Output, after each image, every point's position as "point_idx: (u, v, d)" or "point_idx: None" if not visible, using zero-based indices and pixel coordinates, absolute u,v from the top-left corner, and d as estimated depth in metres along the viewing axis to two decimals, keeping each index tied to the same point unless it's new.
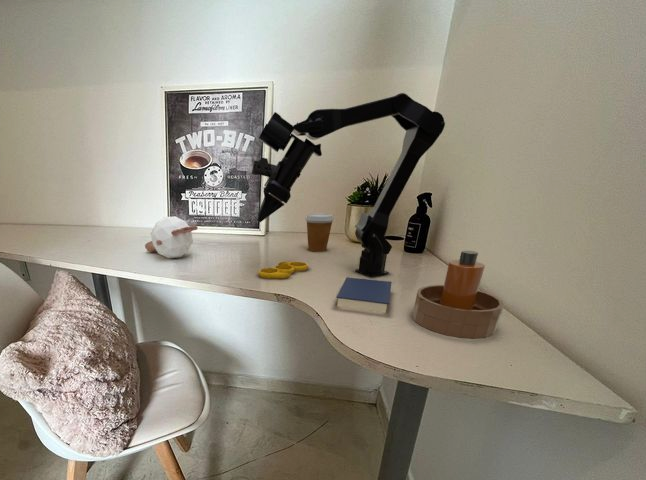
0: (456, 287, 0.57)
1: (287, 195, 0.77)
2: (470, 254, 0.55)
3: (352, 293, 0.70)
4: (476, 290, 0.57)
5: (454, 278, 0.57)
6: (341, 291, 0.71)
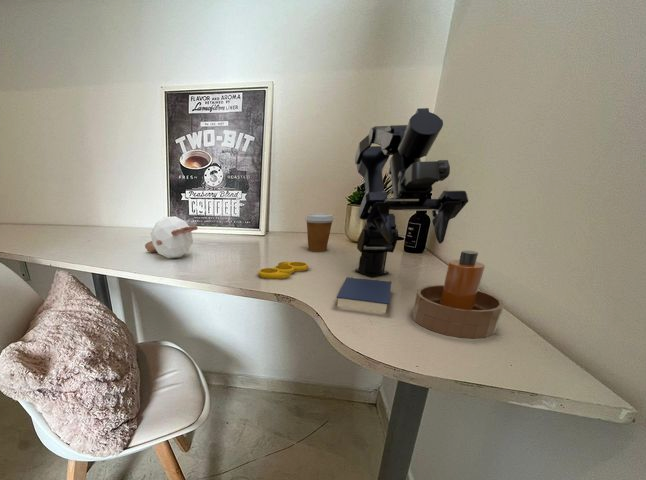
0: (456, 287, 0.57)
1: None
2: (470, 254, 0.55)
3: (352, 293, 0.70)
4: (476, 290, 0.57)
5: (454, 278, 0.57)
6: (341, 291, 0.71)
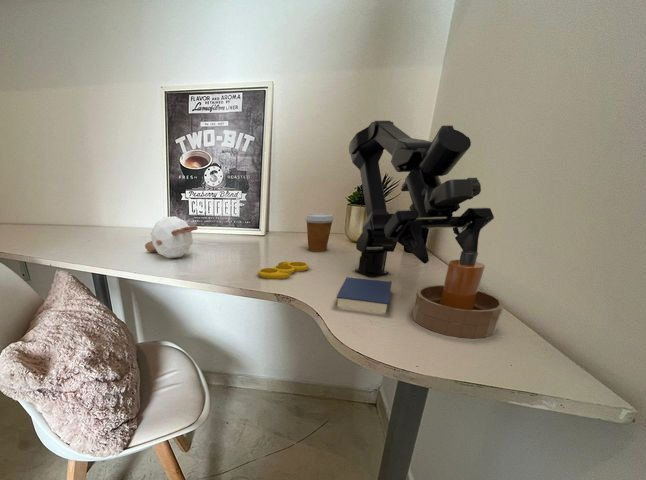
0: (456, 287, 0.57)
1: None
2: (470, 254, 0.55)
3: (352, 293, 0.70)
4: (476, 290, 0.57)
5: (454, 278, 0.57)
6: (341, 291, 0.71)
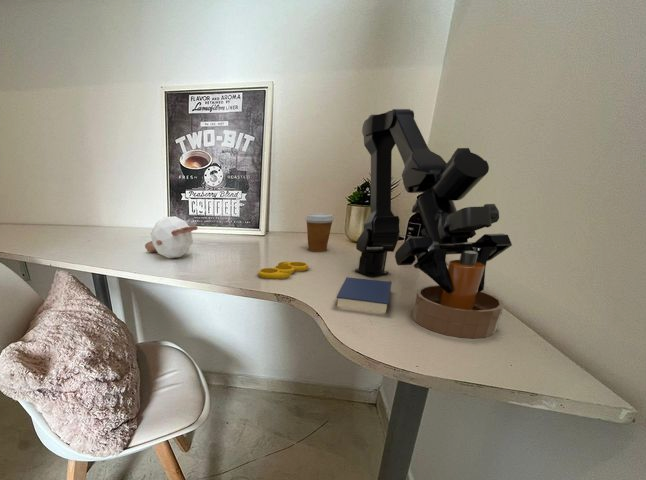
0: (456, 287, 0.57)
1: None
2: (470, 254, 0.55)
3: (352, 293, 0.70)
4: (476, 290, 0.57)
5: (454, 278, 0.57)
6: (341, 291, 0.71)
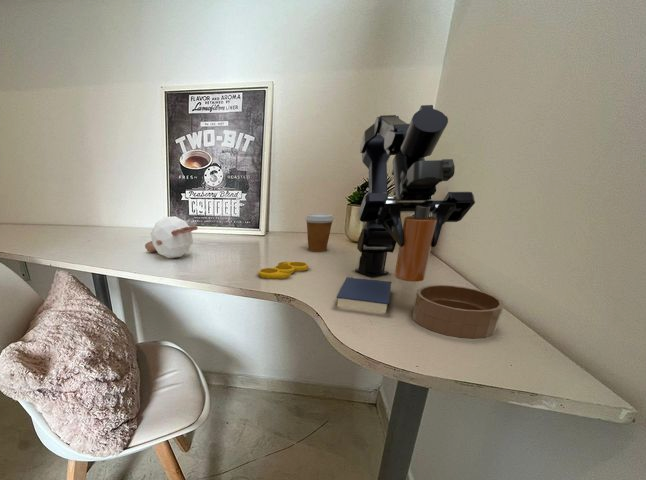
0: (407, 240, 0.60)
1: None
2: (421, 208, 0.58)
3: (352, 293, 0.70)
4: (427, 244, 0.59)
5: (405, 231, 0.60)
6: (341, 291, 0.71)
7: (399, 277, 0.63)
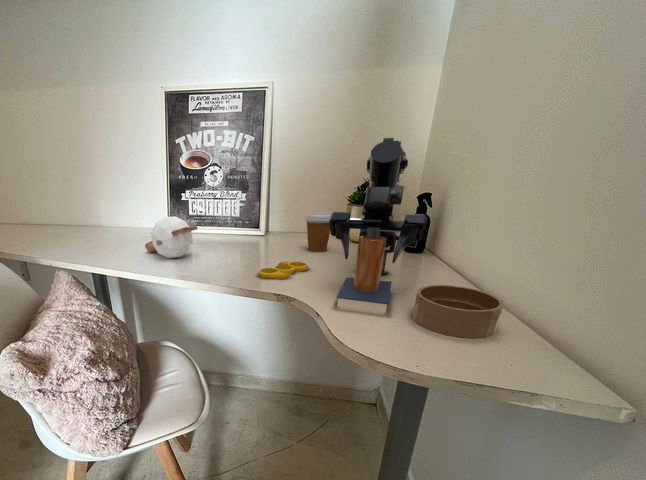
0: (359, 256, 0.69)
1: None
2: (370, 229, 0.66)
3: (352, 293, 0.70)
4: (374, 260, 0.67)
5: (358, 248, 0.69)
6: (341, 291, 0.71)
7: (354, 288, 0.72)
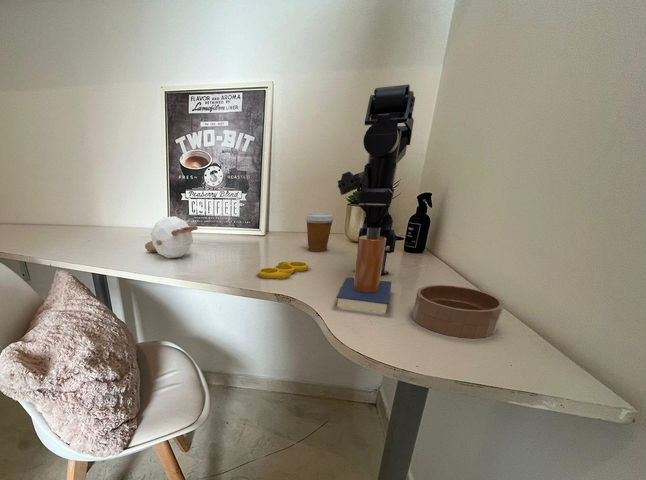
0: (359, 256, 0.69)
1: (387, 194, 0.63)
2: (370, 229, 0.66)
3: (352, 293, 0.70)
4: (374, 260, 0.67)
5: (358, 248, 0.69)
6: (341, 291, 0.71)
7: (354, 288, 0.72)
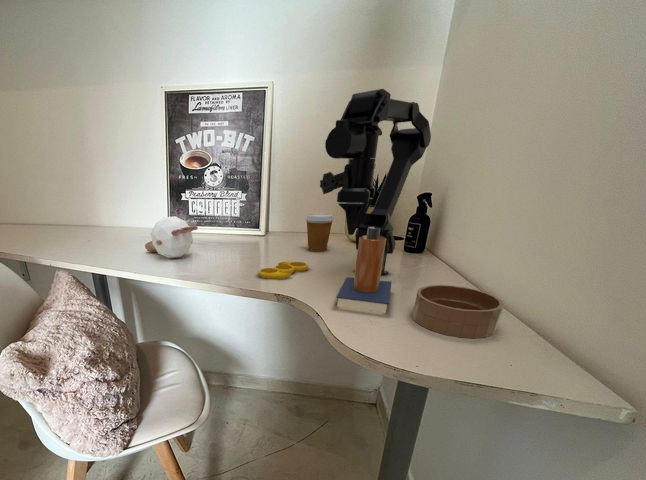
0: (359, 256, 0.69)
1: (364, 194, 0.67)
2: (370, 229, 0.66)
3: (352, 293, 0.70)
4: (374, 260, 0.67)
5: (358, 248, 0.69)
6: (341, 291, 0.71)
7: (354, 288, 0.72)
